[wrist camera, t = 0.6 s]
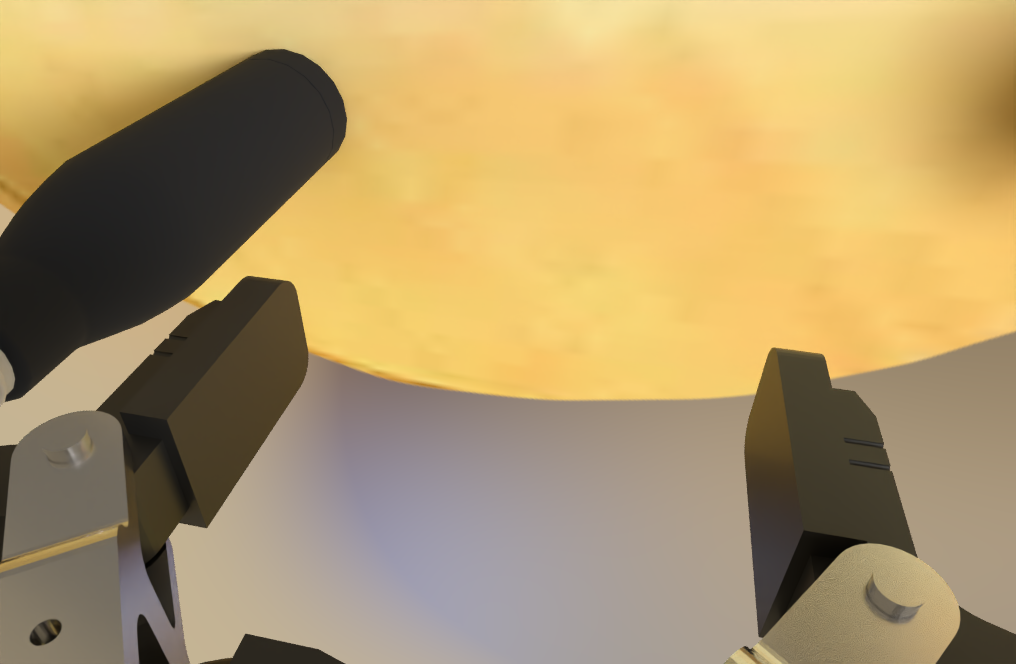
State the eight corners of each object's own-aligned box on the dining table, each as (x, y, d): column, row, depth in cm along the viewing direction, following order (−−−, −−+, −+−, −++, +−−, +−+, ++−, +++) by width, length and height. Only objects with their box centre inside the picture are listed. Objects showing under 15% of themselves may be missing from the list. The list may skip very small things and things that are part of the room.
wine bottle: (344, 57, 37) (-278, 506, 13) (350, 173, 41) (-121, 687, 17) (226, 40, 38) (-571, 438, 14) (244, 156, 41) (-355, 626, 17)
